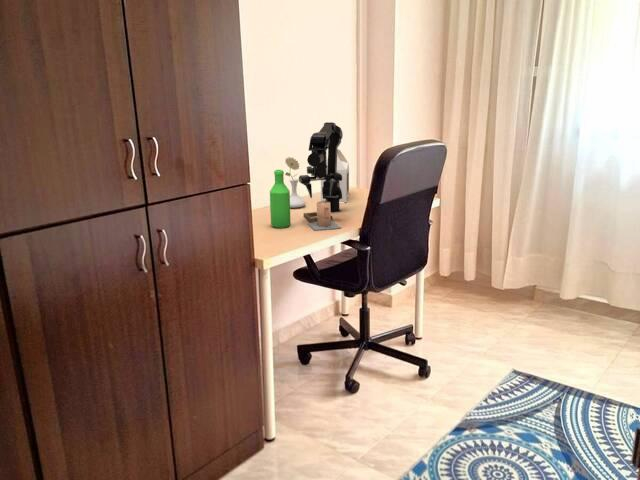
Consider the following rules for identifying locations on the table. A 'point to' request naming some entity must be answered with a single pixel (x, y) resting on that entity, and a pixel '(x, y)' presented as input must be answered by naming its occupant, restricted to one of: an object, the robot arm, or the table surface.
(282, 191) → the bottle
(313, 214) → the holder
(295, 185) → the flower in vase
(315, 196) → the table surface
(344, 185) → the gable box
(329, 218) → the jug
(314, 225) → the pad
